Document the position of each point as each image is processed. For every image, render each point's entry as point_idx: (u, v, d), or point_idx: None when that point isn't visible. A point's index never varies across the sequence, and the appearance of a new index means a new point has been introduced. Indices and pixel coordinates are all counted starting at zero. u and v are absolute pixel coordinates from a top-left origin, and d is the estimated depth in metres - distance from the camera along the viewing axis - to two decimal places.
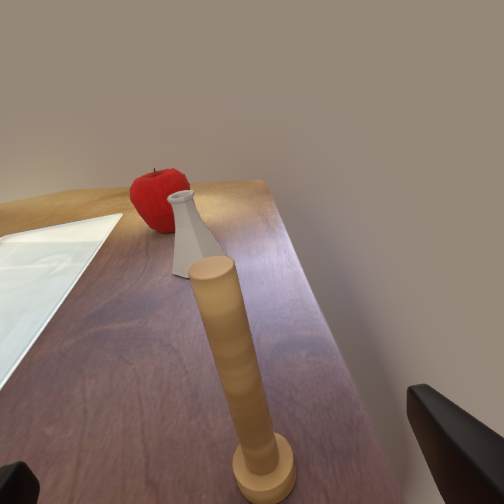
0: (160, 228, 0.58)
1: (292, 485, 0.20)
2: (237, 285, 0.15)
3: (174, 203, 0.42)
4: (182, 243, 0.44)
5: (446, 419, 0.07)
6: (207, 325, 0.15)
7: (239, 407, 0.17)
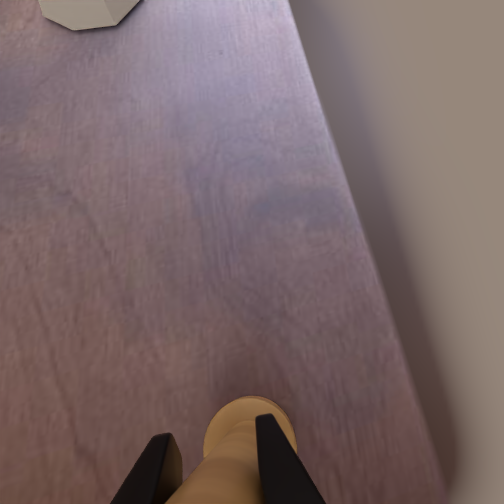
0: None
1: None
2: None
3: None
4: None
5: (268, 453, 0.07)
6: None
7: None
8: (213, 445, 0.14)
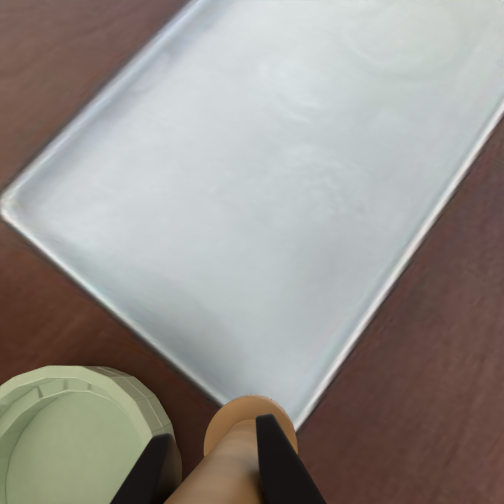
0: None
1: None
2: None
3: None
4: None
5: (268, 453, 0.07)
6: None
7: None
8: (214, 444, 0.14)
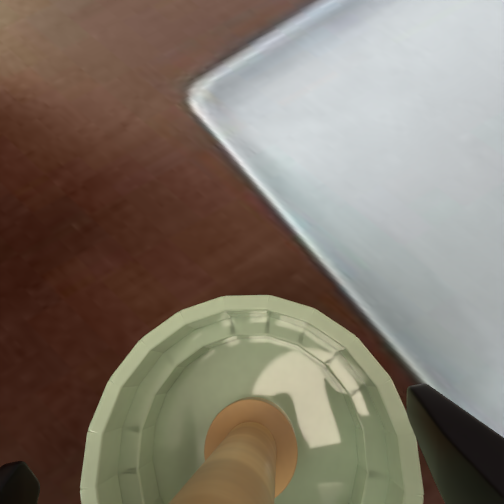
0: None
1: None
2: None
3: None
4: None
5: (446, 419, 0.07)
6: None
7: None
8: (214, 446, 0.14)
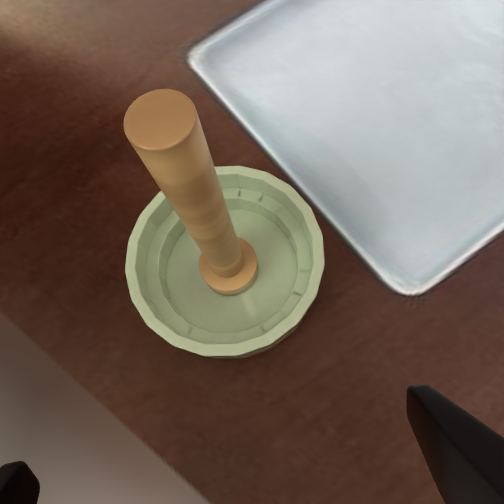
0: None
1: (255, 279, 0.22)
2: (202, 144, 0.10)
3: None
4: None
5: (446, 419, 0.07)
6: (163, 189, 0.12)
7: (207, 246, 0.16)
8: (205, 261, 0.22)
